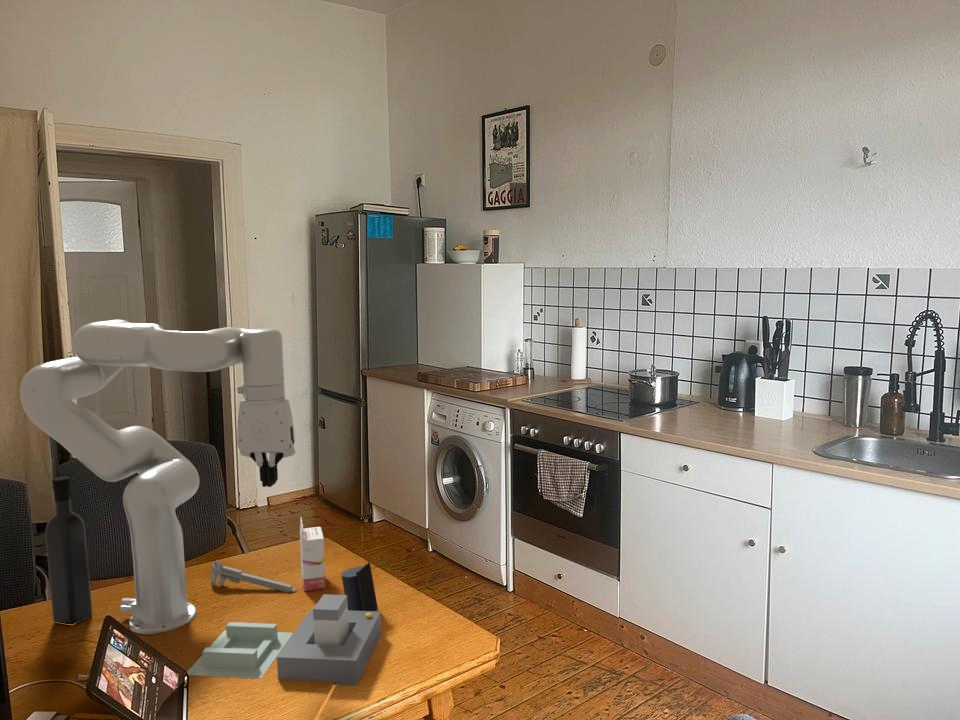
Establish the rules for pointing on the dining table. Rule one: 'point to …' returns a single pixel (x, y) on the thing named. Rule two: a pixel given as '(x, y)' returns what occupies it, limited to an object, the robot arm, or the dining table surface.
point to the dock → (330, 651)
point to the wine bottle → (67, 559)
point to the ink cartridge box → (312, 558)
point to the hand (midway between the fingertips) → (269, 484)
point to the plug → (331, 620)
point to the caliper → (244, 578)
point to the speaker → (359, 588)
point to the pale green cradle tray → (241, 651)
